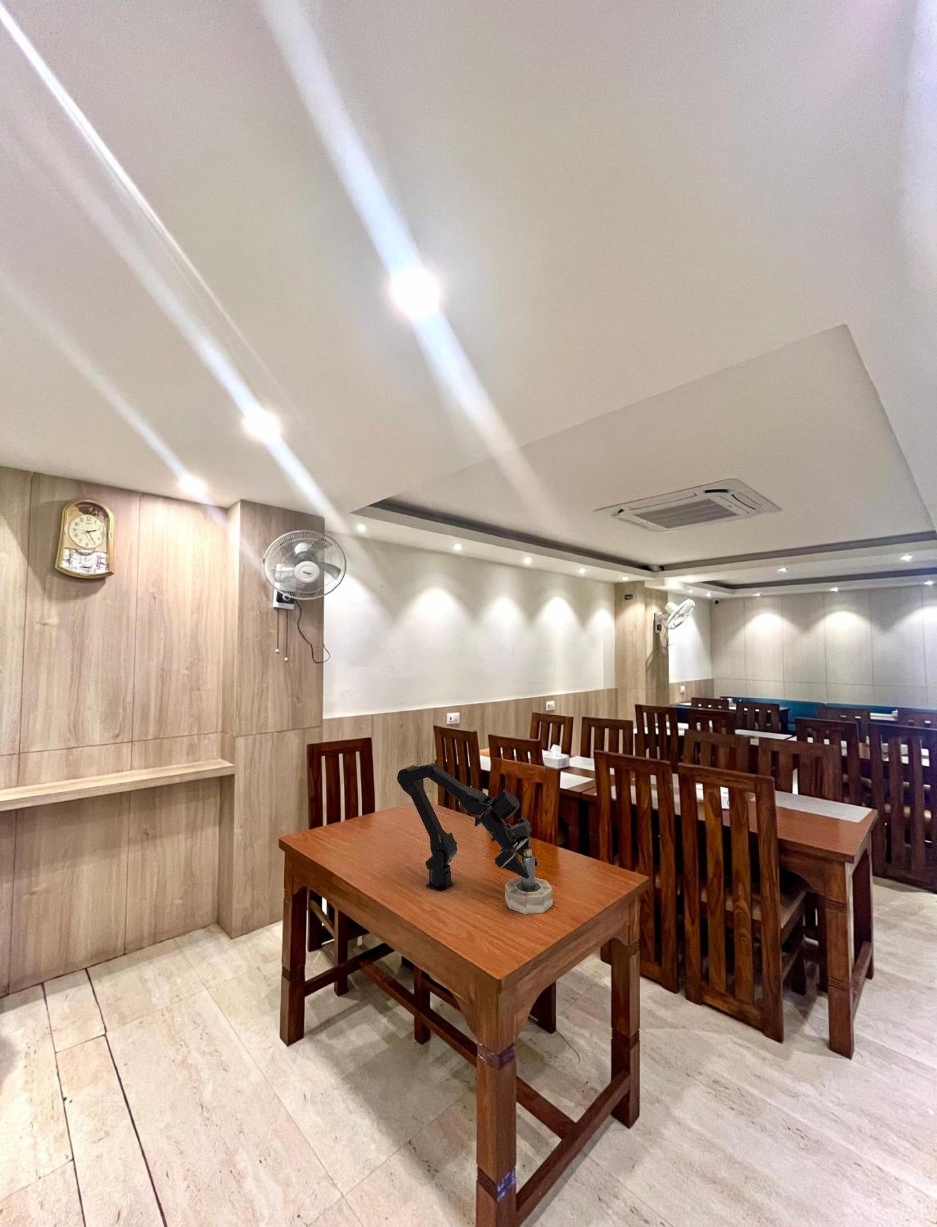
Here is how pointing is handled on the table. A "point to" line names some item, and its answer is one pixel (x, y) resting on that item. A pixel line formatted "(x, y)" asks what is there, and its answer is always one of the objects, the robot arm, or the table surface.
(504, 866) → the robot arm
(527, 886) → the bottle
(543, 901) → the cream octagonal ring
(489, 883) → the table surface
